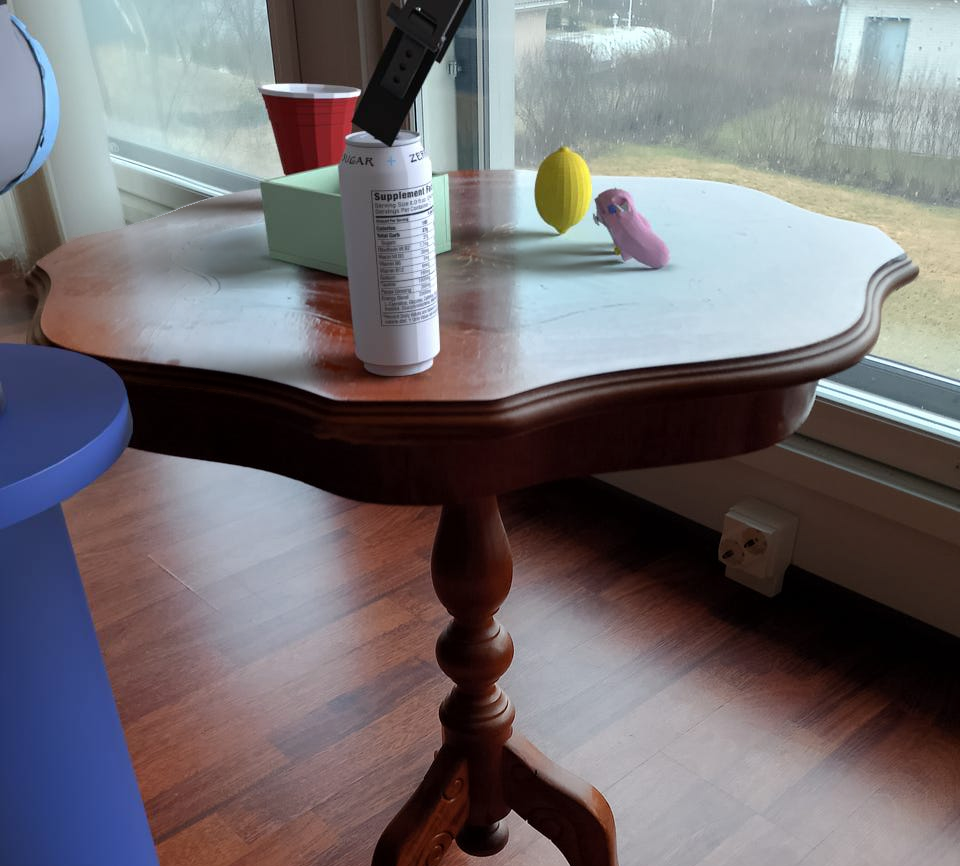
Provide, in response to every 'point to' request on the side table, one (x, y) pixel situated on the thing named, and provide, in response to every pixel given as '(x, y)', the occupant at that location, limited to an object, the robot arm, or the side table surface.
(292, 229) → the bin
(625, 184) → the side table surface
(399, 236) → the energy drink can
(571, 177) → the lemon
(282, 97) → the plastic cup
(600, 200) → the pink toy bird
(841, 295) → the side table surface
